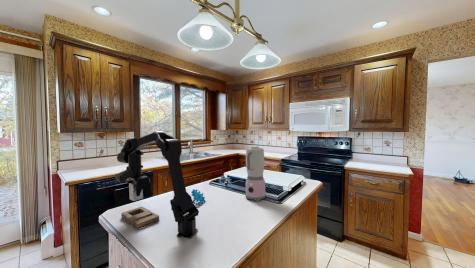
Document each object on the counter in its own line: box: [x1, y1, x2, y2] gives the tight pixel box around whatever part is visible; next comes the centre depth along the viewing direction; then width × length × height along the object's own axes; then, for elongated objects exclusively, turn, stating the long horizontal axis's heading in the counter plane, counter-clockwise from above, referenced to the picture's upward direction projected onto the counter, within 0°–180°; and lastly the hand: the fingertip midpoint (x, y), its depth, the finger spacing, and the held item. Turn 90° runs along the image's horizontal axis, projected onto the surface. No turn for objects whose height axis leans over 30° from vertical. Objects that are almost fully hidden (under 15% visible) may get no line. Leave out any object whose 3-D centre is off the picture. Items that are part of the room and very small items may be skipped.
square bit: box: [128, 182, 144, 202], centre depth 95 cm, size 4×4×8 cm
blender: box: [245, 145, 266, 202], centre depth 117 cm, size 16×12×32 cm
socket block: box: [121, 206, 160, 230], centre depth 93 cm, size 18×10×2 cm, turn 50°
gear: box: [191, 189, 206, 205], centre depth 113 cm, size 11×6×10 cm
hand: (136, 195), depth 95 cm, fingers closed on square bit, 4 cm apart
